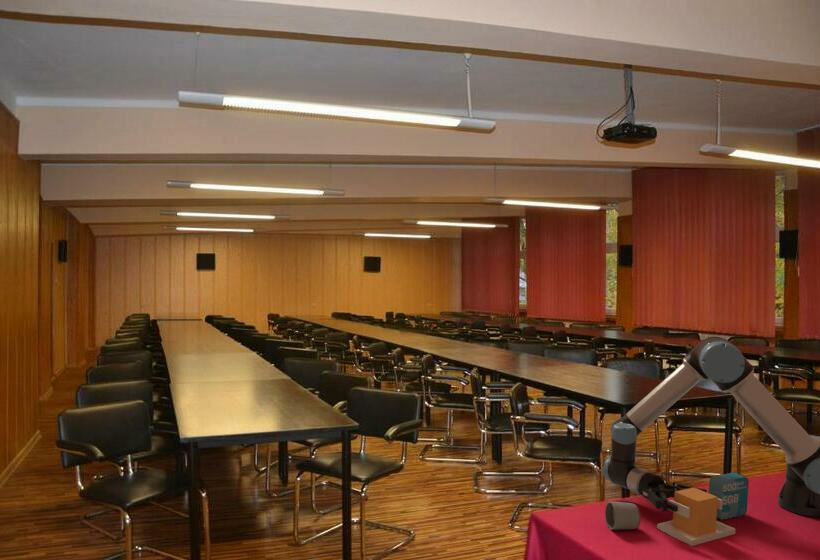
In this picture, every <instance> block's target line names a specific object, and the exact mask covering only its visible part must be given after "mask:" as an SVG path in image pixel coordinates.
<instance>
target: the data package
mask: <svg viewBox="0 0 820 560" xmlns="http://www.w3.org/2000/svg"><path fill="white" fill-rule="evenodd" d="M749 481H750V480H749V478H748V476H744V475H741V474H740V473H736V472H729V473H724V474H718V475H712V476H711V477H710V479H709V481H708V493H709V494H712V495H714V496H717V497H718V498H719V499H721V500H723V503H722V509H721V510H720V509H717V519H719V520H721V521H724V520H723V519H725V520H729V519H733V518H732V517H734V518H738V517H742V515H743V516H744V515H746V514H747V511H748V501H749V500H748V498H749V483H750V482H749ZM728 518H729V519H728Z"/></svg>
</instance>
